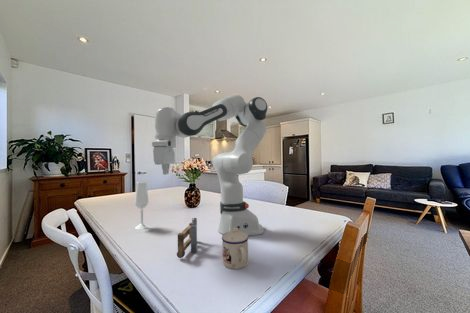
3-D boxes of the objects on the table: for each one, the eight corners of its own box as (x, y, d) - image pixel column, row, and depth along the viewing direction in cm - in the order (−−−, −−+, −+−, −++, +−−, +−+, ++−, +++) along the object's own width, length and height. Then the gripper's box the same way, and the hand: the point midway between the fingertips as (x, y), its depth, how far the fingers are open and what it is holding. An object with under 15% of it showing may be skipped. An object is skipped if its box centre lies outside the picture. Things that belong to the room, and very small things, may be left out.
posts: (199, 240, 86) (199, 217, 86) (196, 252, 75) (196, 226, 75) (192, 240, 86) (192, 217, 86) (188, 253, 74) (187, 226, 75)
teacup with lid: (218, 259, 70) (218, 226, 70) (241, 254, 73) (241, 222, 73) (231, 277, 58) (230, 238, 59) (258, 270, 62) (257, 233, 62)
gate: (189, 242, 82) (189, 222, 83) (195, 242, 82) (195, 222, 82) (176, 258, 70) (176, 234, 70) (183, 258, 69) (183, 234, 69)
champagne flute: (149, 227, 104) (149, 182, 104) (135, 230, 100) (135, 183, 100) (147, 224, 109) (147, 181, 110) (134, 226, 106) (133, 182, 106)
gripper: (165, 145, 99) (165, 172, 98) (150, 141, 78) (150, 176, 78) (177, 145, 99) (178, 172, 99) (166, 141, 79) (166, 176, 78)
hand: (165, 174), depth 88 cm, fingers closed
